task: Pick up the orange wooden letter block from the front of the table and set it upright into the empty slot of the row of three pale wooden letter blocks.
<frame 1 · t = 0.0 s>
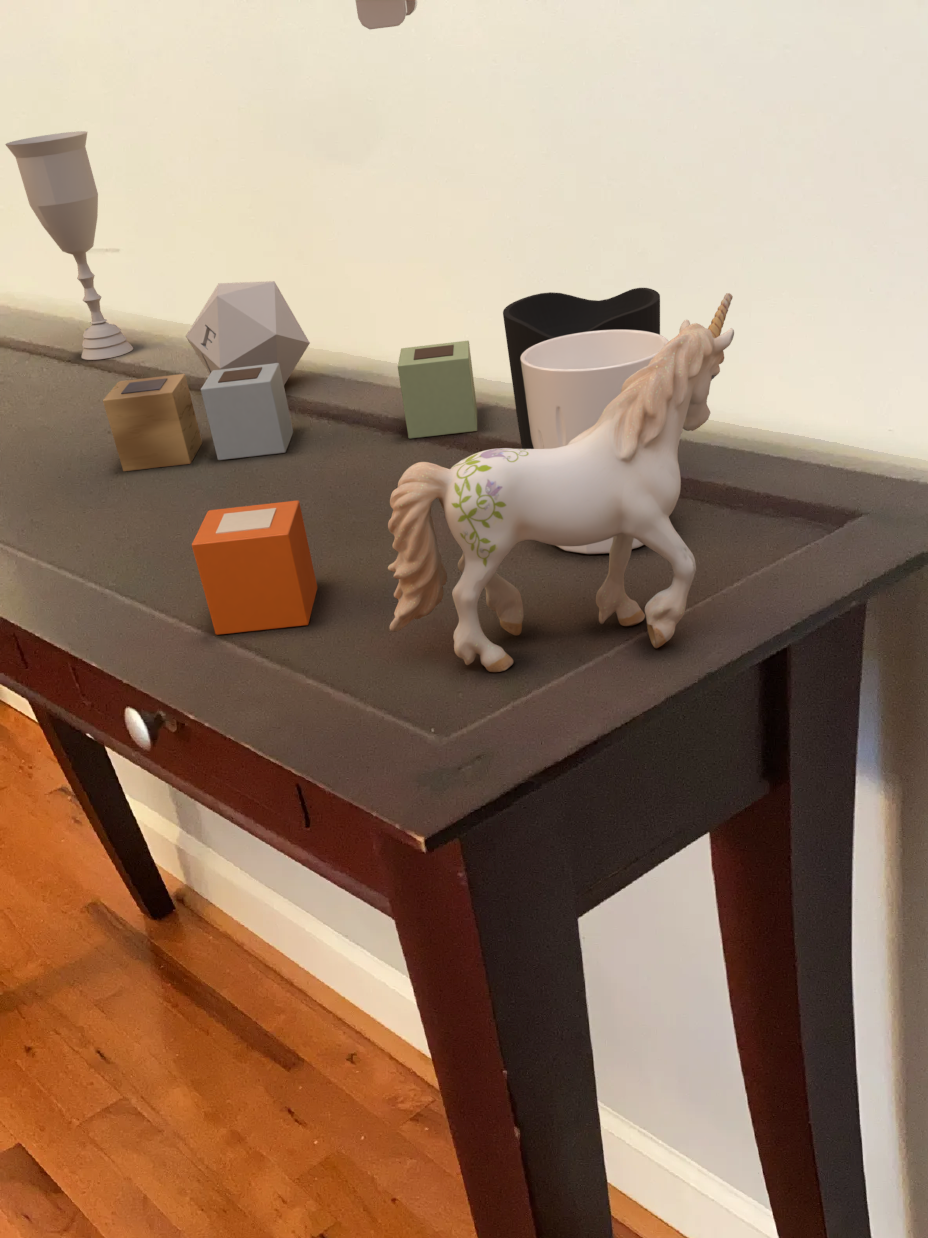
hand: (391, 21, 51), 25 cm above the table, tool pointing down, fingers open, 8 cm apart
pen holder: (592, 474, 82), on the table
orange block: (268, 611, 69), on the table
line block 3: (443, 424, 93), on the table
line block 1: (163, 456, 94), on the table
line block 2: (256, 446, 94), on the table
unicorn figurine: (581, 620, 65), on the table
die: (259, 392, 107), on the table
chalice: (107, 354, 124), on the table
white cup: (606, 536, 73), on the table
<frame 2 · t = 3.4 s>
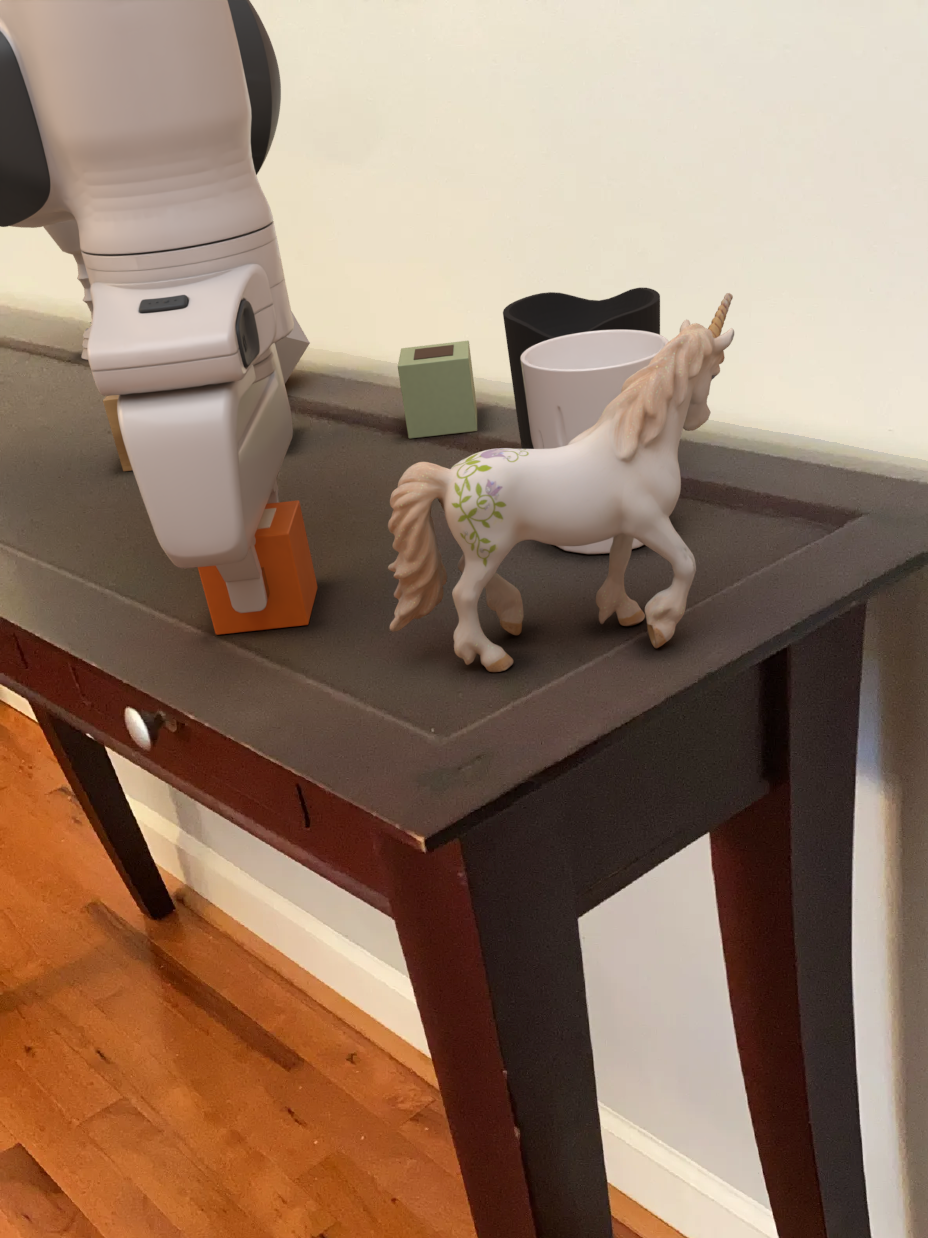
hand: (261, 583, 68), 2 cm above the table, tool pointing down, fingers closed on orange block, 5 cm apart
orange block: (268, 611, 69), on the table, touching gripper
everything else where it was.
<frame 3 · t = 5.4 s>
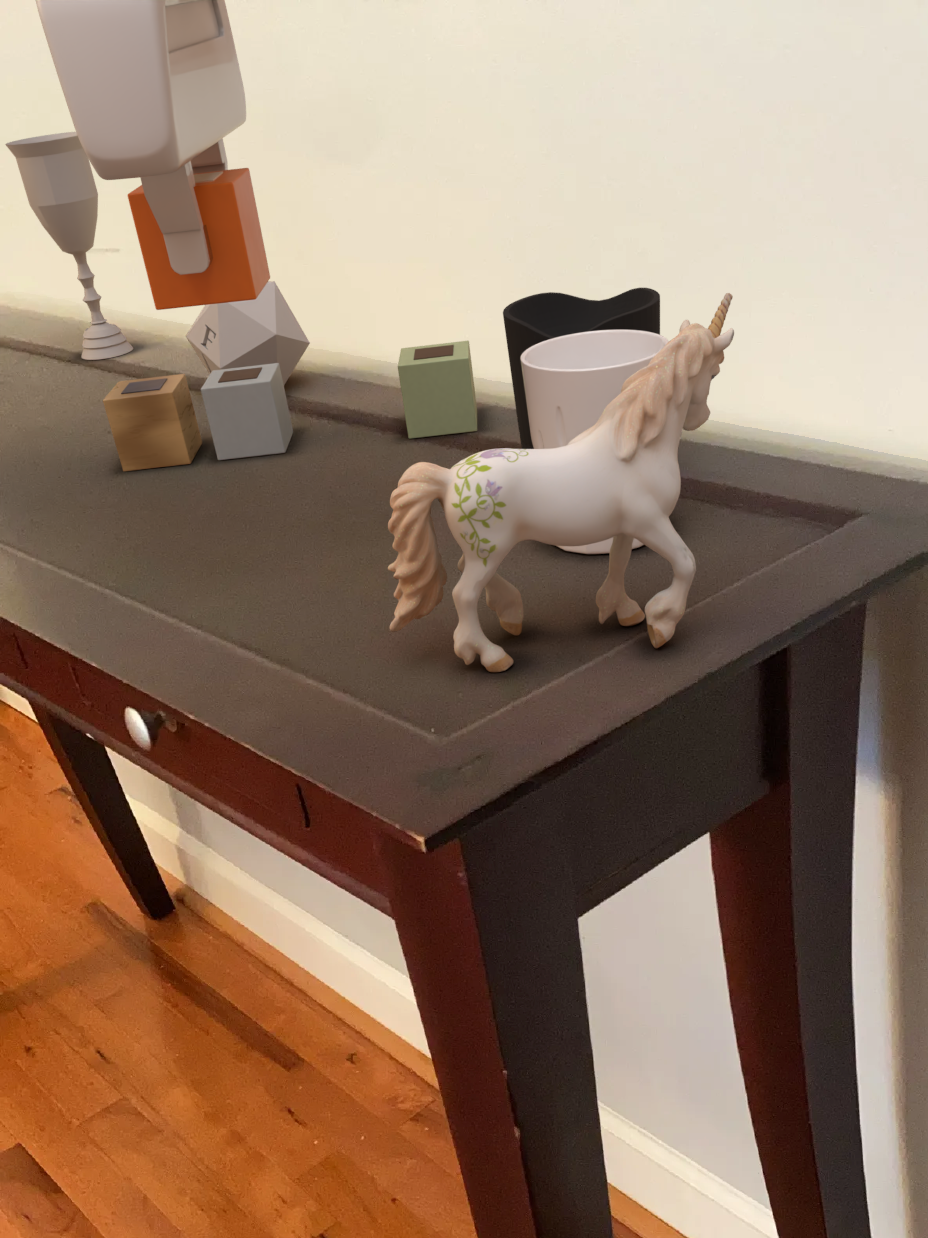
hand: (206, 258, 63), 17 cm above the table, tool pointing down, fingers closed on orange block, 5 cm apart
orange block: (214, 293, 64), point 15 cm above the table, touching gripper
everything else where it was.
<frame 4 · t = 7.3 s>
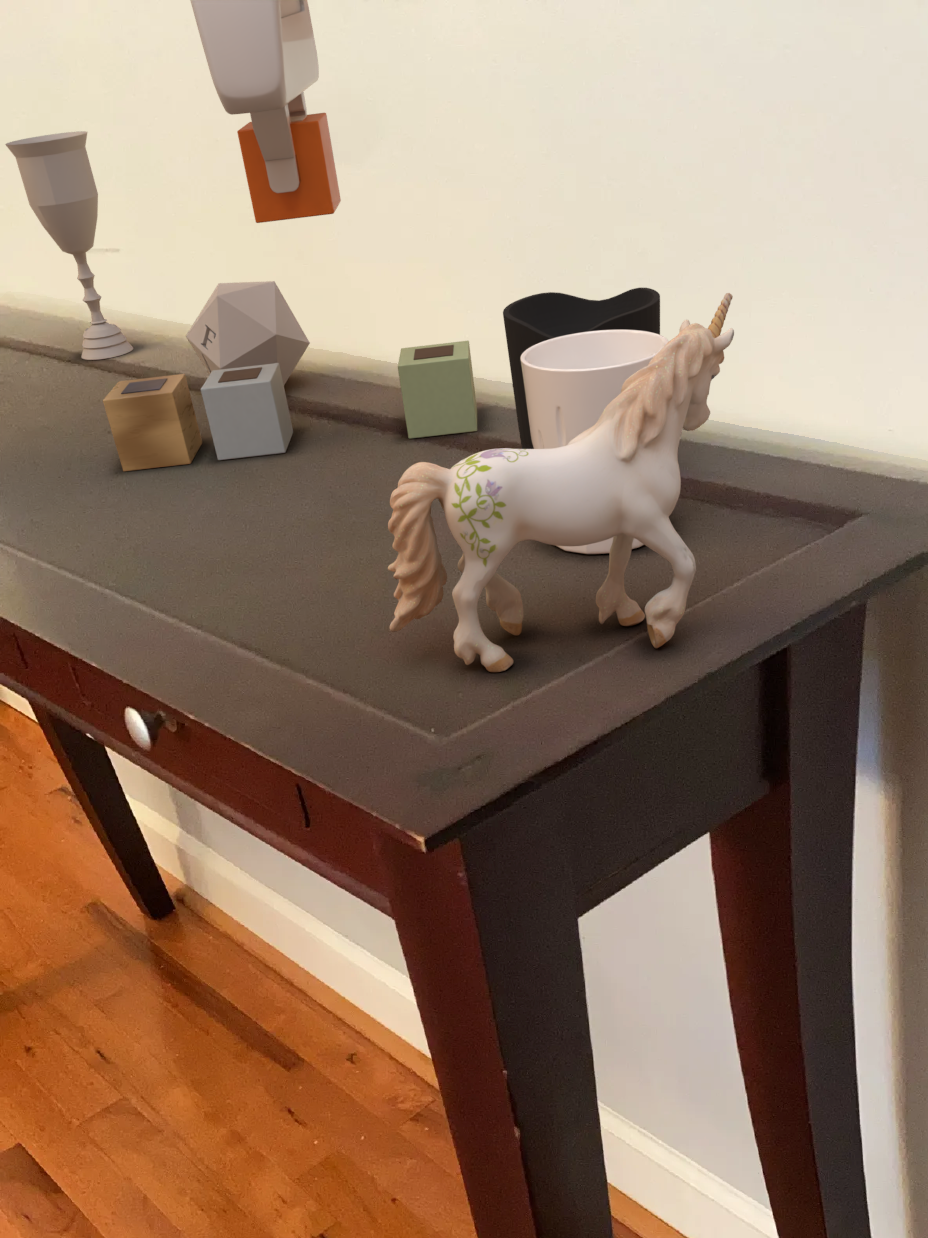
hand: (293, 183, 81), 17 cm above the table, tool pointing down, fingers closed on orange block, 5 cm apart
orange block: (299, 212, 82), point 15 cm above the table, touching gripper
everything else where it was.
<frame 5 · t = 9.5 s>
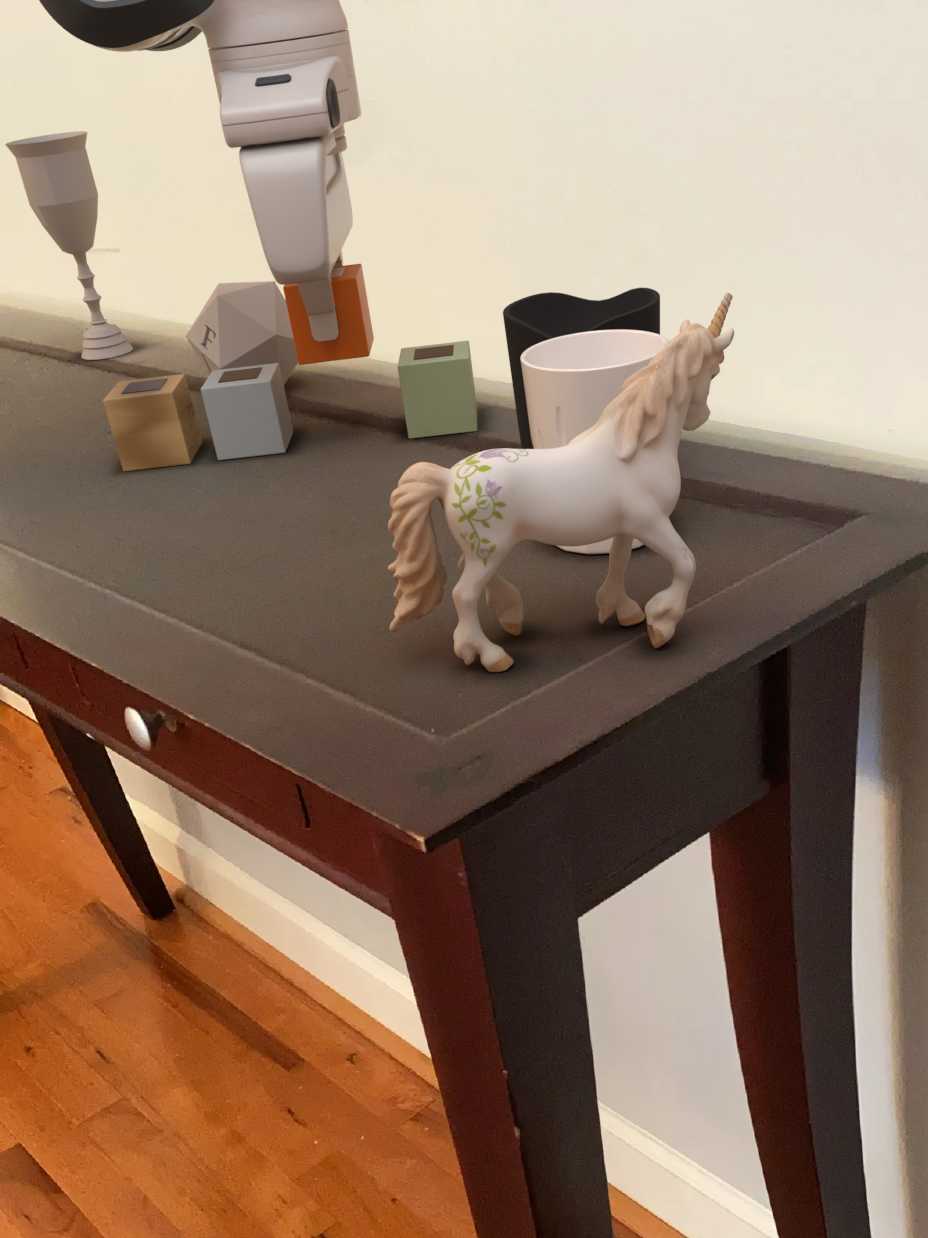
hand: (331, 327, 89), 7 cm above the table, tool pointing down, fingers closed on orange block, 5 cm apart
orange block: (337, 351, 90), point 6 cm above the table, touching gripper
everything else where it was.
when the fingers open (1 cm above the table, at t = 11.3 s): orange block stays where it is, on the table.
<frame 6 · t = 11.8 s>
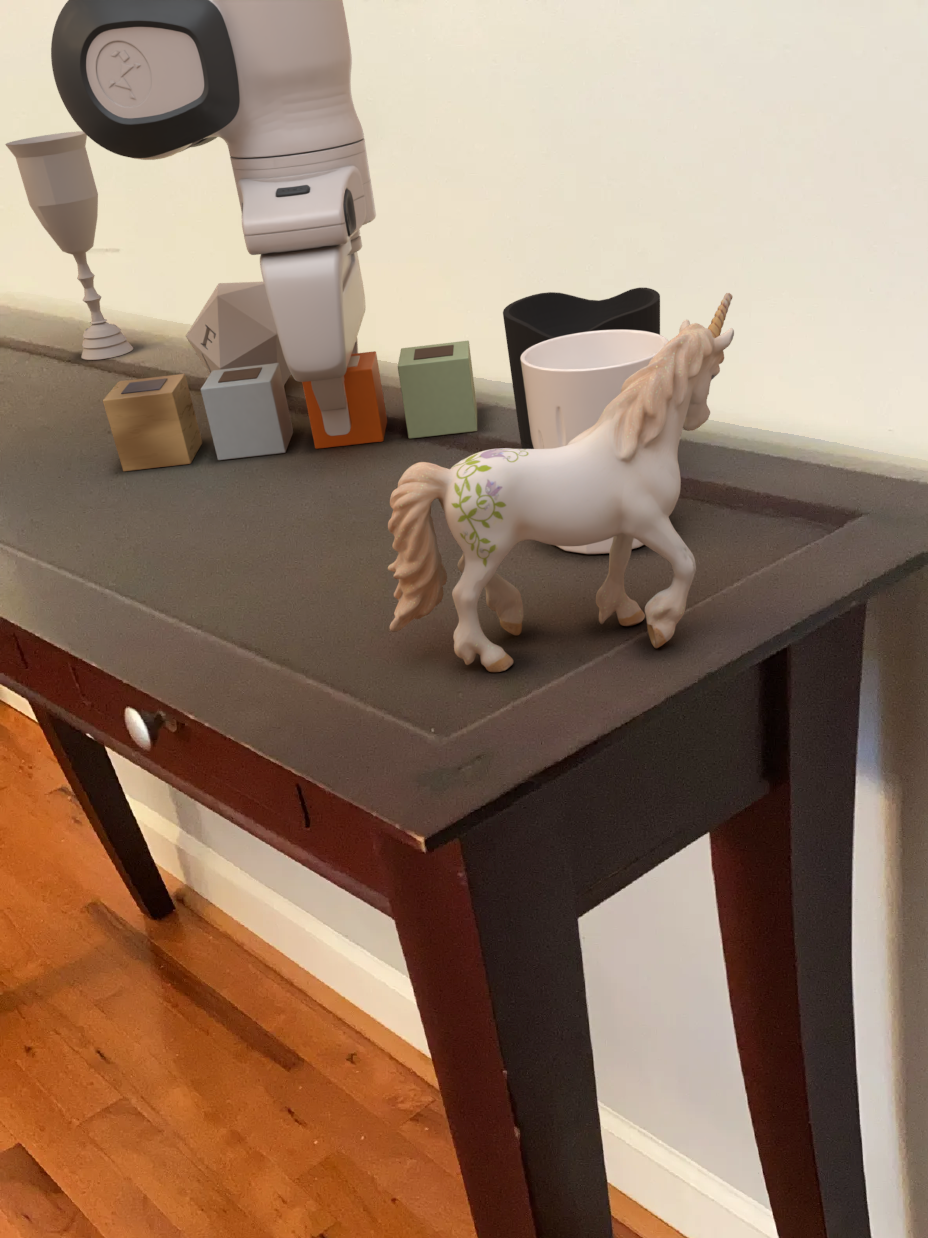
hand: (345, 413, 93), 2 cm above the table, tool pointing down, fingers open, 8 cm apart
orange block: (352, 435, 94), on the table
everything else where it was.
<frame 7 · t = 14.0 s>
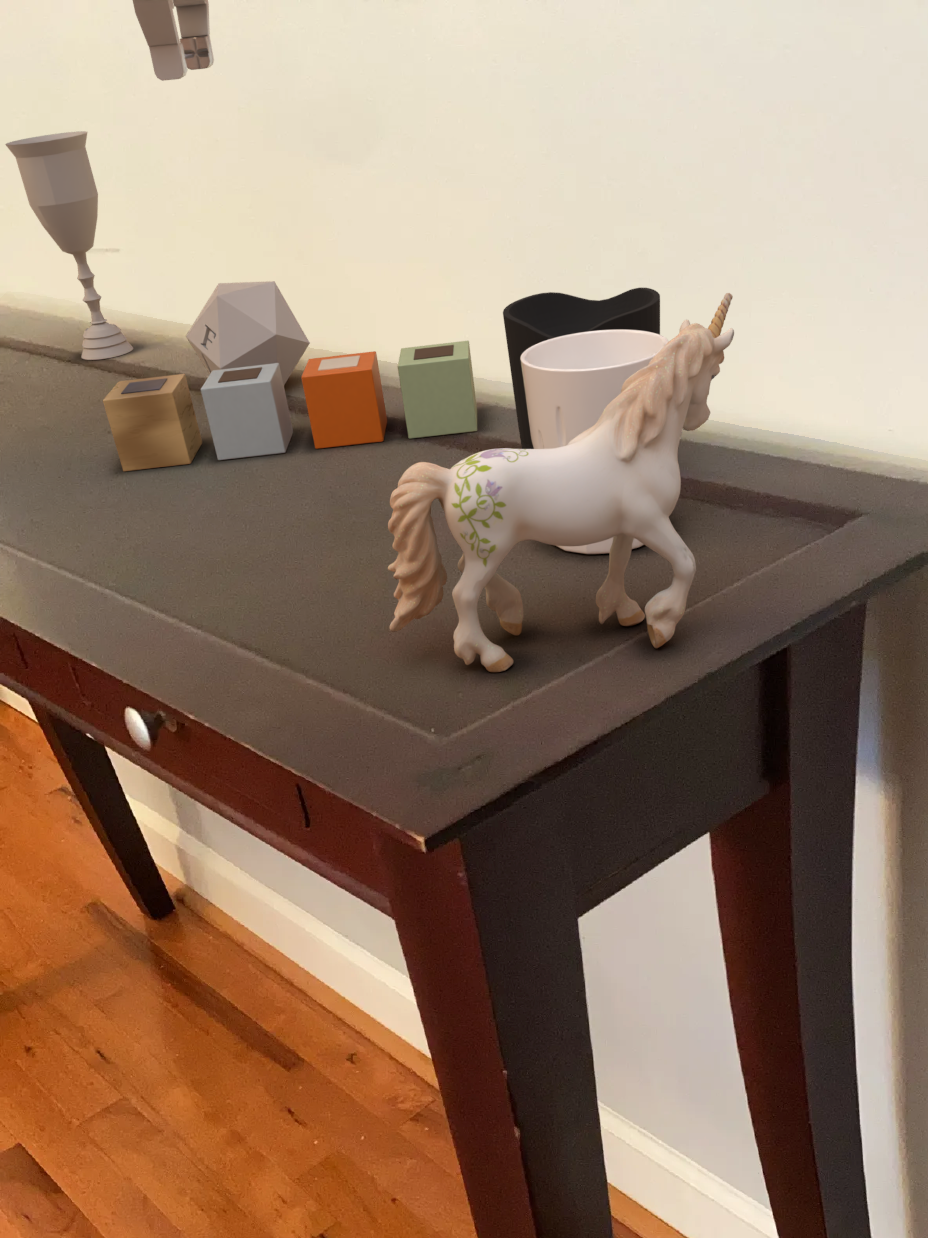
hand: (187, 73, 83), 23 cm above the table, tool pointing down, fingers open, 8 cm apart
nothing on the table moved.
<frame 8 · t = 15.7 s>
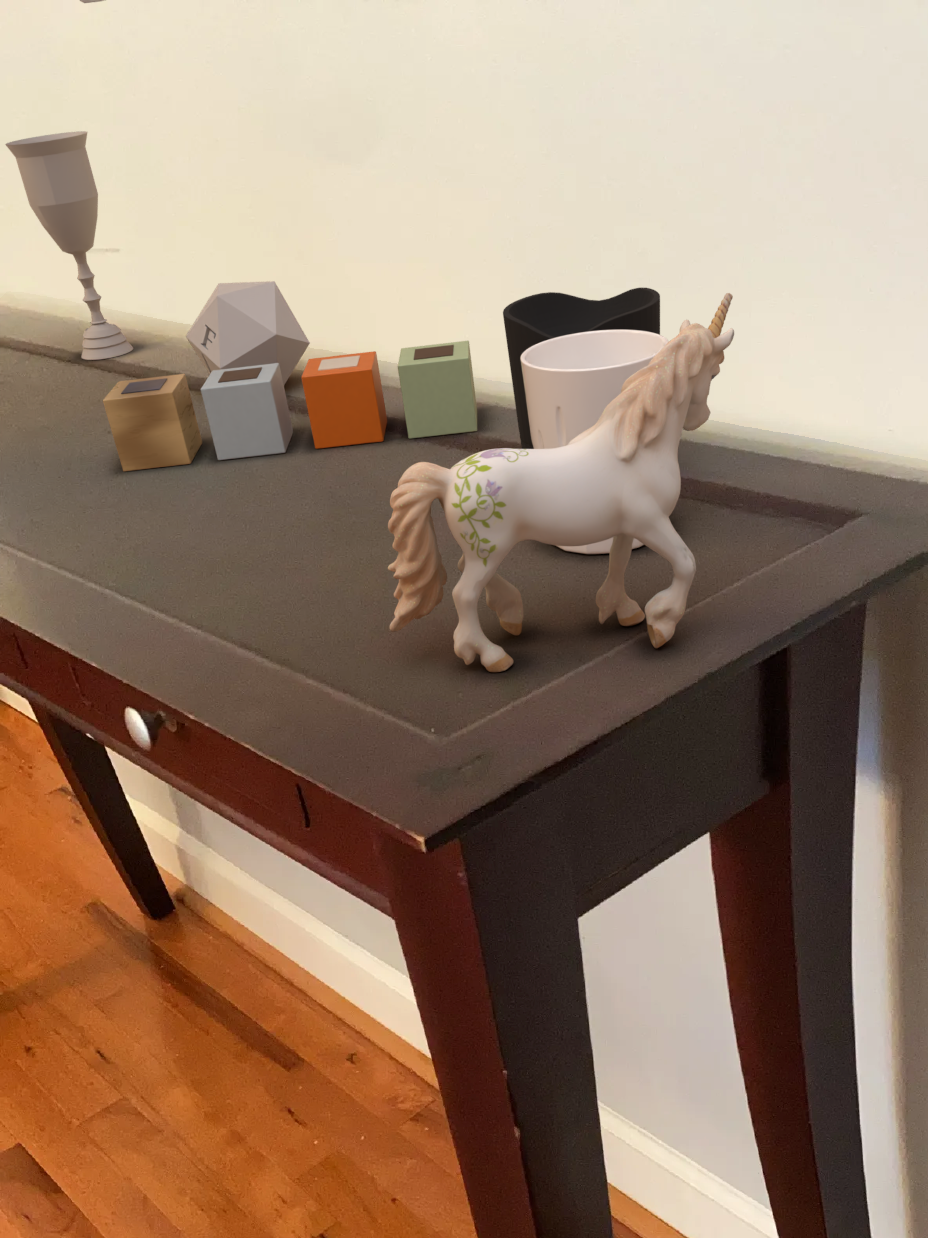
nothing on the table moved.
at the end: orange block 0.2 cm from the target spot on the table beside the line block 2, on the table; orange block tilted 0°; line block 3 moved 0.0 cm from its start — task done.
